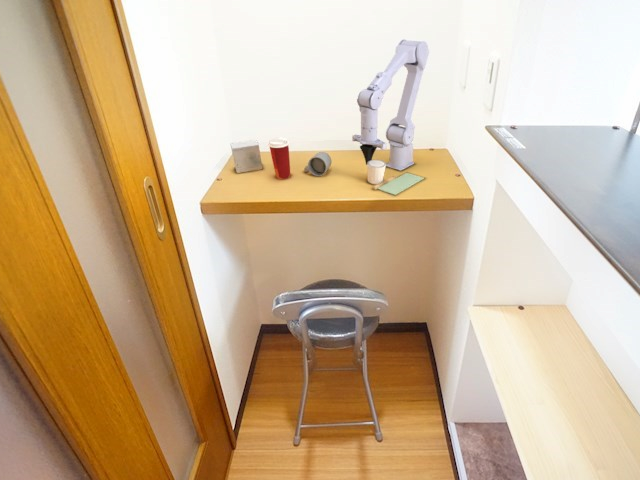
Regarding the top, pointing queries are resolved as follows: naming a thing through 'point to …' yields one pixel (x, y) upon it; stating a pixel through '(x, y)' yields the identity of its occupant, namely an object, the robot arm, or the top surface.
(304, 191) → the top surface
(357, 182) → the top surface
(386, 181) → the stop batten
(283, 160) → the paper cup
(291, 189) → the top surface
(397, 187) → the mat
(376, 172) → the beige short cylinder
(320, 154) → the ceramic mug
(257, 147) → the grey concrete block
